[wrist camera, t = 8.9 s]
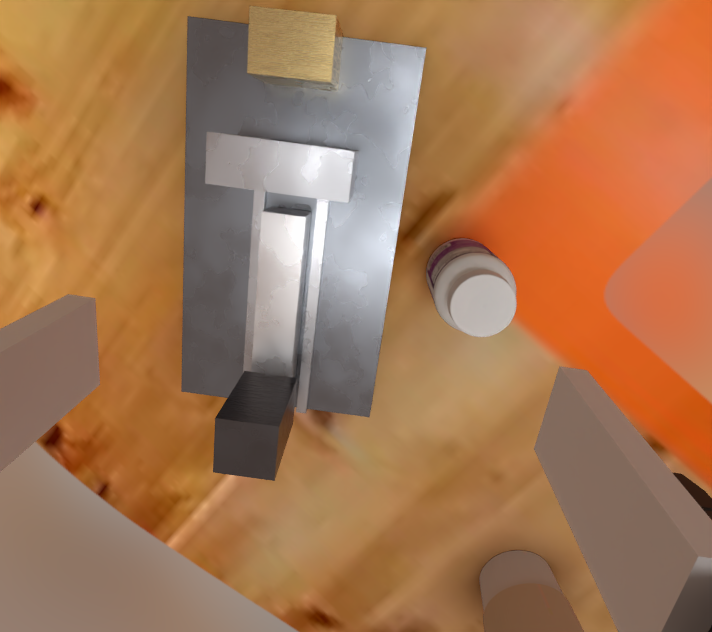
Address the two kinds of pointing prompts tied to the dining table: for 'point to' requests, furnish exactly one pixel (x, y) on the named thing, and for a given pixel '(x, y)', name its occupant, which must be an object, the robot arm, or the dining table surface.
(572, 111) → the dining table surface
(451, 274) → the pill bottle
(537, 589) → the coffee cup
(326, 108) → the slotted base plate
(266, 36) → the block
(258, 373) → the sliding bolt with handle
